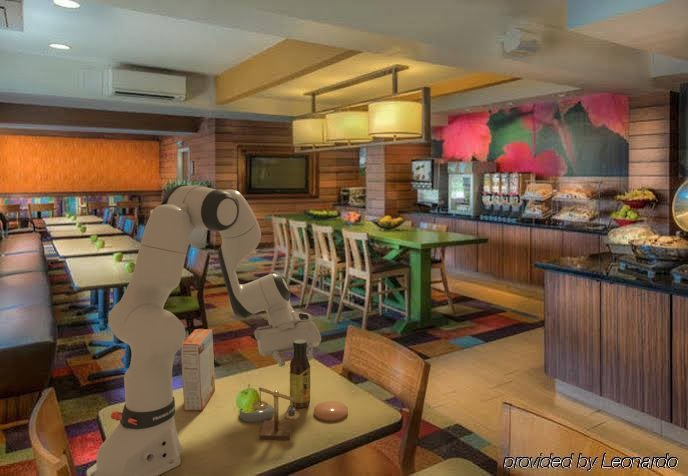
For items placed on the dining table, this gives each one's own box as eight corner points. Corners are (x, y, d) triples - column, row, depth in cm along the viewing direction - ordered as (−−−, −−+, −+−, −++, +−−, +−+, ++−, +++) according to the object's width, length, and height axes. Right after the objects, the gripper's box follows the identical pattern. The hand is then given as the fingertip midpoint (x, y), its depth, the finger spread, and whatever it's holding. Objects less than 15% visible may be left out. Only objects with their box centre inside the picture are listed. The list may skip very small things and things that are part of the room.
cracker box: (197, 390, 170) (194, 328, 167) (215, 391, 169) (213, 328, 166) (182, 411, 156) (179, 343, 153) (202, 411, 156) (200, 343, 153)
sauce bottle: (307, 410, 157) (306, 346, 154) (287, 408, 158) (286, 344, 155) (312, 400, 163) (312, 338, 160) (293, 398, 164) (292, 337, 162)
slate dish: (259, 426, 147) (259, 422, 147) (232, 417, 152) (232, 413, 152) (281, 411, 156) (281, 407, 156) (254, 403, 161) (254, 400, 160)
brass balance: (251, 439, 140) (250, 394, 138) (256, 424, 148) (255, 381, 146) (298, 439, 140) (297, 394, 138) (300, 424, 148) (300, 381, 146)
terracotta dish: (336, 424, 148) (336, 420, 148) (307, 415, 153) (307, 411, 153) (353, 410, 157) (353, 406, 157) (325, 402, 162) (325, 398, 162)
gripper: (254, 323, 160) (267, 364, 153) (314, 313, 170) (329, 352, 163) (250, 333, 165) (262, 373, 158) (308, 323, 175) (322, 361, 168)
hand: (296, 362), depth 161 cm, fingers open, 8 cm apart
